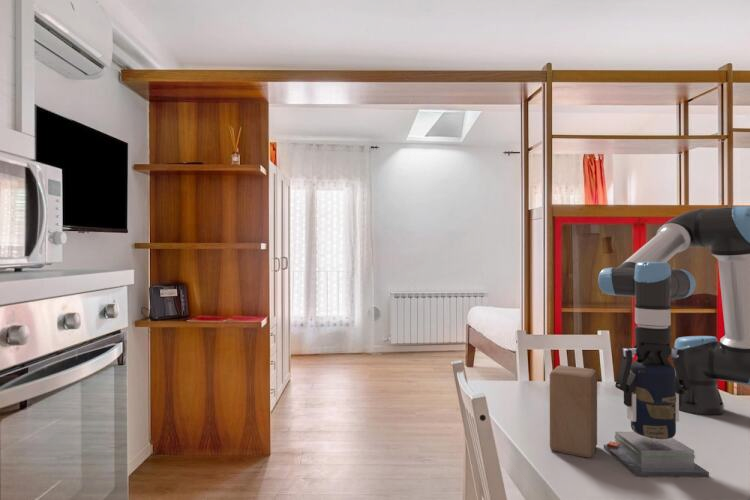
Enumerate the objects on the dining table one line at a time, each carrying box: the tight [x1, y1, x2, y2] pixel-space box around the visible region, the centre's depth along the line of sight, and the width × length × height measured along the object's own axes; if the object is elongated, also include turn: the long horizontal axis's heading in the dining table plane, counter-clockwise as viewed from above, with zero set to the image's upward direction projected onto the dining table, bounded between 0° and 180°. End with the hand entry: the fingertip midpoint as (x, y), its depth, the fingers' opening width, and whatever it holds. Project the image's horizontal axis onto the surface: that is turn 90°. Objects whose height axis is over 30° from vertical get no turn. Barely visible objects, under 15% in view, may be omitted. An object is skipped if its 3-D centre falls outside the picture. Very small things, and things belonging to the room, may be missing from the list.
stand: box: [603, 431, 710, 478], centre depth 118 cm, size 16×17×5 cm
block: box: [549, 365, 598, 459], centre depth 125 cm, size 10×10×20 cm
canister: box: [629, 361, 677, 439], centre depth 118 cm, size 10×10×18 cm
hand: (652, 419), depth 118 cm, fingers closed on canister, 9 cm apart
